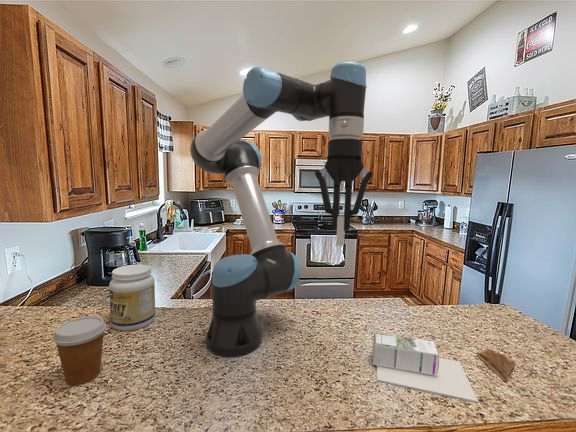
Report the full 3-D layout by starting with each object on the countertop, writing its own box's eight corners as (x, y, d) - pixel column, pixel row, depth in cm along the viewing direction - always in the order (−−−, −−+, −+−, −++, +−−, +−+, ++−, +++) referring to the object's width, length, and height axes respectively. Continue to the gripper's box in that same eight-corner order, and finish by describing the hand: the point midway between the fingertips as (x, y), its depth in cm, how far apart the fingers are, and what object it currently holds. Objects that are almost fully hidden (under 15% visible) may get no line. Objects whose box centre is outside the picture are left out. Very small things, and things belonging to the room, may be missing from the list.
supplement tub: (101, 326, 85) (98, 271, 83) (136, 310, 96) (134, 261, 94) (130, 336, 81) (128, 278, 79) (164, 317, 92) (162, 266, 90)
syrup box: (372, 365, 70) (437, 378, 66) (374, 343, 69) (440, 354, 65) (372, 352, 75) (432, 362, 72) (373, 331, 74) (434, 340, 71)
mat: (376, 381, 65) (377, 379, 65) (376, 347, 78) (376, 346, 78) (477, 403, 59) (478, 401, 59) (459, 362, 72) (459, 361, 72)
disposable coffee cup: (68, 398, 58) (63, 342, 56) (48, 379, 63) (44, 328, 61) (116, 372, 66) (114, 322, 64) (96, 357, 71) (93, 311, 69)
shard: (505, 384, 66) (506, 377, 65) (467, 368, 71) (468, 361, 71) (516, 366, 73) (517, 359, 72) (481, 352, 78) (482, 345, 78)
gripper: (312, 137, 61) (308, 245, 64) (376, 136, 58) (369, 250, 61) (319, 142, 69) (315, 239, 71) (376, 141, 65) (369, 243, 68)
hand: (340, 244), depth 66 cm, fingers closed
